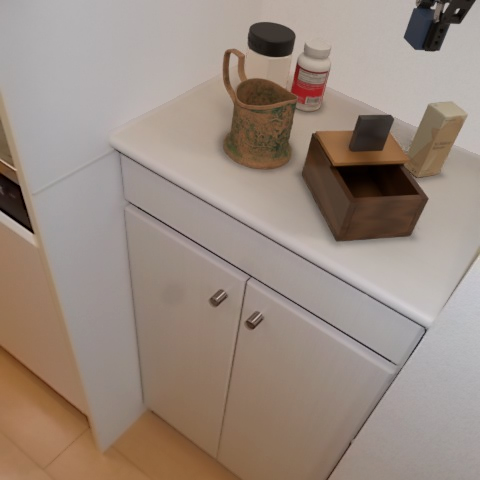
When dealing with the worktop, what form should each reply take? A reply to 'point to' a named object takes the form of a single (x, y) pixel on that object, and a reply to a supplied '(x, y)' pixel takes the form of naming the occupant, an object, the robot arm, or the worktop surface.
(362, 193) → the walnut box
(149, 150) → the worktop surface
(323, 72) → the pill bottle
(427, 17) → the block
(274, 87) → the brown green pitcher
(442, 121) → the box
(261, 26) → the jar
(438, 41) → the robot arm
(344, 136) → the slide door
